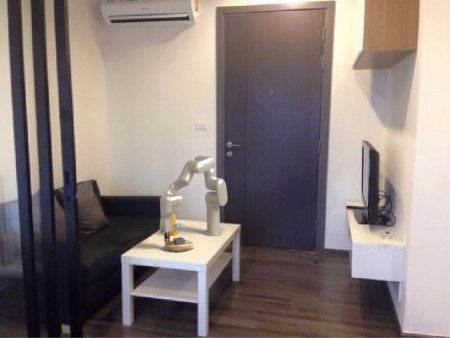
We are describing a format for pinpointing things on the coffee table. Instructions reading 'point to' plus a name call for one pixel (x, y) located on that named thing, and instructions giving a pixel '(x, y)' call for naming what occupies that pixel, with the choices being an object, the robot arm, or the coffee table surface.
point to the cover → (179, 241)
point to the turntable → (174, 248)
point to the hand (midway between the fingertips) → (167, 242)
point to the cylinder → (174, 226)
